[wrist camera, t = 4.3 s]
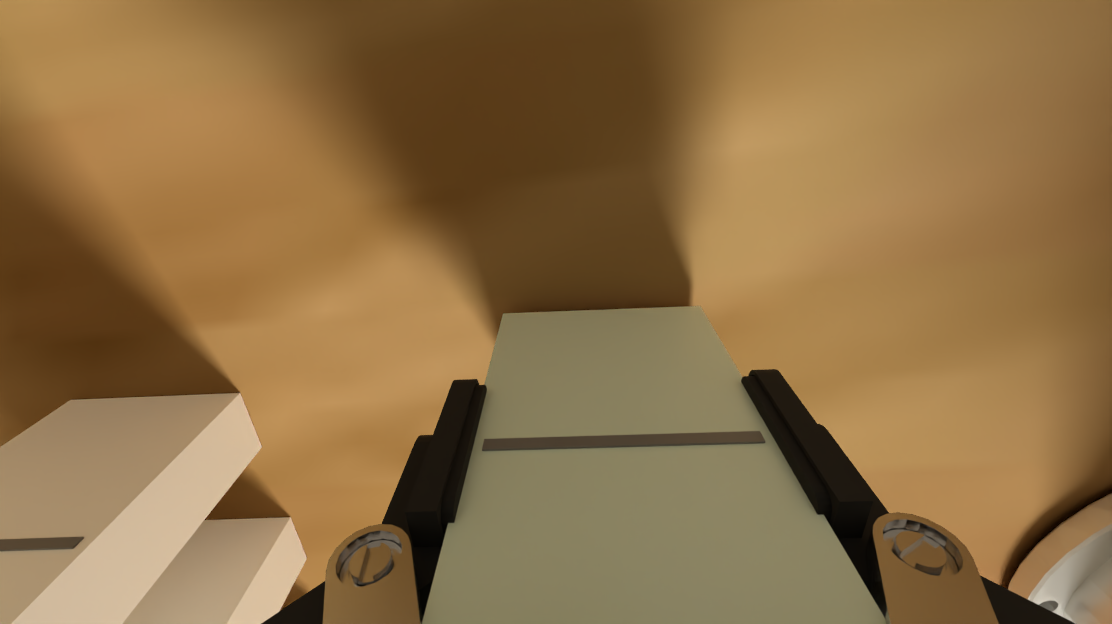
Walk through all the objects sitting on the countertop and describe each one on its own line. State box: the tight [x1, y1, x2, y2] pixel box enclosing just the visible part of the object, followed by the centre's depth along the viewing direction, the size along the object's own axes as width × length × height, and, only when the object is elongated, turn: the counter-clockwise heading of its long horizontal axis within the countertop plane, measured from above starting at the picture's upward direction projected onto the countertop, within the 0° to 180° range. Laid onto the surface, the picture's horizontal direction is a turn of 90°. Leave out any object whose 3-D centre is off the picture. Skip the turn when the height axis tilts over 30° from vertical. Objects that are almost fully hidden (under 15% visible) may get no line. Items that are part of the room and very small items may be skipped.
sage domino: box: [422, 306, 886, 624], centre depth 10 cm, size 2×6×12 cm, turn 93°
